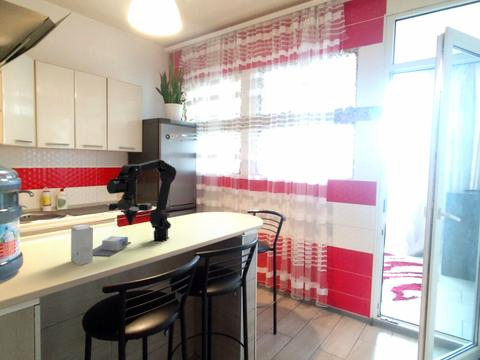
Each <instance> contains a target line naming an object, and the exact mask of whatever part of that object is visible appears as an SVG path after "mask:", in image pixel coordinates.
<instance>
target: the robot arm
mask: <svg viewBox="0 0 480 360" xmlns="http://www.w3.org/2000/svg"><path fill="white" fill-rule="evenodd" d="M154 169H156V172H158V173H159V180H160V181H161V183H160V187H159V192H158V198H157V202H156V207H155V209H154V210H153V211H152V209H153V205H152V203H149V202H144V203H141V204H139V201H138V196H139V192H138V190H137V184H138V183H139V182H141V179H139V178H138V176H141V174H142V173H145V172H148V171H152V170H154ZM176 176H177V169H176V168H175V167H174V166H172V165H171V164H169V163H167V162H166V161H164V160H163V159H154V160H151V161H146V162H143V163H139V164H123V165H122V166H121V169H120V171H119V173H118V175H116V178H112V177H110V178H109V181H108V182H107V184H106V190H107V192H108V193H109V194H110V195H114V194H122V195H121V199H119V200H118V202H112V203H109V204H108V206H107V207H108V211H115V210H117V209H118V211H120V213H123V214H124V216H125V218H126V219H127V220H126V221H127V222H128V225H129V226H132V225H133V223H134V222H135V218H136V216H137V215H138V213H139V212H148V211H150V210H151V211H150V216H149V223H150V224H151V228H152V229H154V230H153V242H166V241H167V240H168V239H170V237H169V230H170V229H171V227H172V224H171V222H170V221H169V220H168V214H167V211H166V210H167V205H168V200H169V194H170V189H171V184H172V182H174V181H175V178H176Z"/></svg>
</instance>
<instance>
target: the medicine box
mask: <svg viewBox="0 0 480 360" xmlns="http://www.w3.org/2000/svg"><path fill="white" fill-rule="evenodd" d="M128 242H129V238H128V236H118V235H117V236H113V235H111V236H109V237H107V238H104V239H103V240H102V241H101V245H102V249H103V250H119V251H121V250H122V248H123V249H124V248H126V247H128V246H129V245H128Z"/></svg>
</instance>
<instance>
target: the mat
mask: <svg viewBox="0 0 480 360" xmlns="http://www.w3.org/2000/svg"><path fill="white" fill-rule="evenodd" d="M130 244H132V242H131V241H128V246H129V245H130ZM122 249H124V248H122ZM122 249H121V250H122ZM119 251H120V250H103V249H102V244H100V245H99V246H97V247H94V248H93V257H111V256H113V255H114V254H116V253H118V252H119Z"/></svg>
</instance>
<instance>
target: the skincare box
mask: <svg viewBox="0 0 480 360" xmlns="http://www.w3.org/2000/svg"><path fill="white" fill-rule="evenodd" d="M70 227H71V229H70V231H71V232H70V233H71V234H70V236H71V237H70V261H71V262H72V263H75V264H76V265H77V266H82V265H86V264H89V263H90V264H91V263H93V262H94V259H93V257H94V256H93V249H94V248H93V247H94V228H93V227H92V226H90V225H87V224H78V225H71V226H70Z"/></svg>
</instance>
